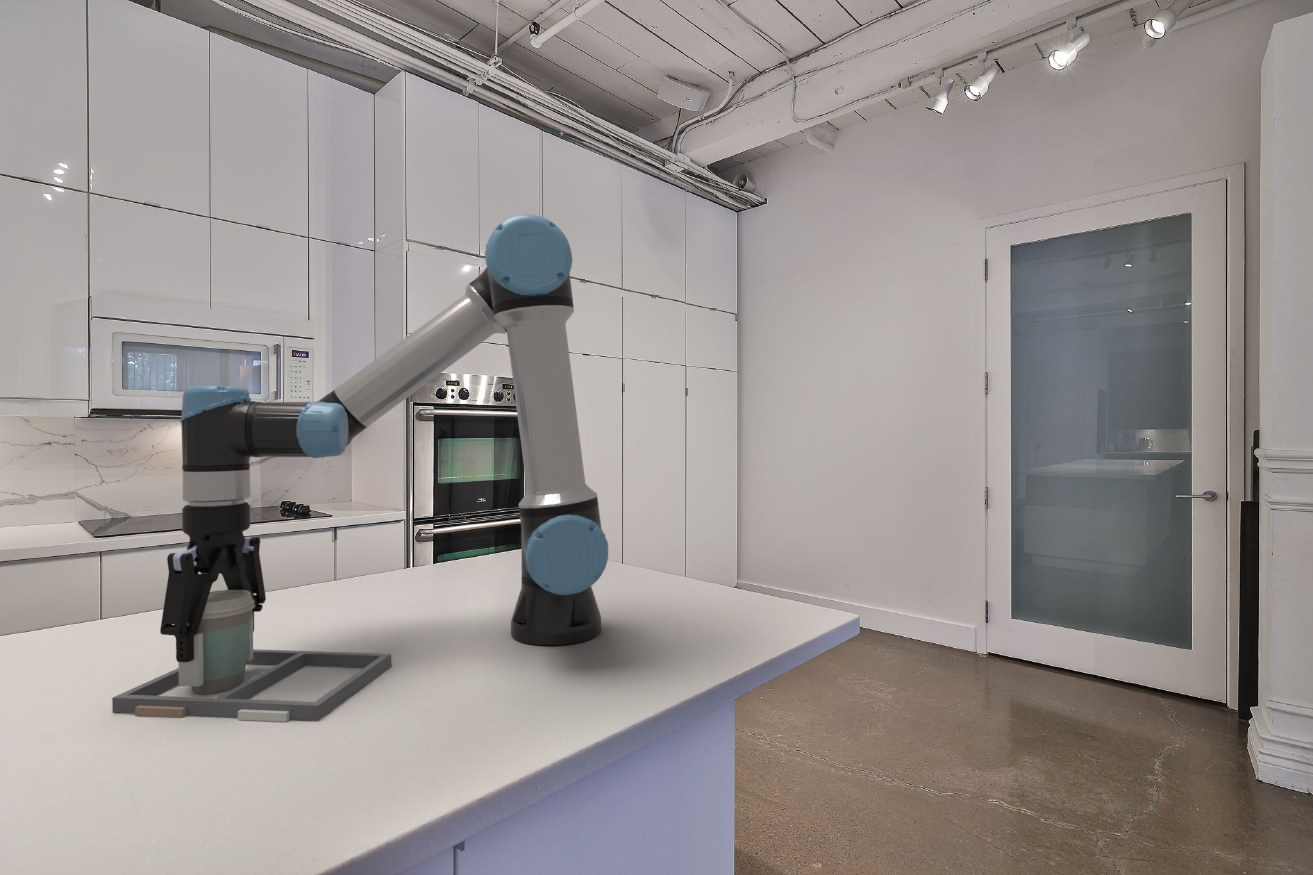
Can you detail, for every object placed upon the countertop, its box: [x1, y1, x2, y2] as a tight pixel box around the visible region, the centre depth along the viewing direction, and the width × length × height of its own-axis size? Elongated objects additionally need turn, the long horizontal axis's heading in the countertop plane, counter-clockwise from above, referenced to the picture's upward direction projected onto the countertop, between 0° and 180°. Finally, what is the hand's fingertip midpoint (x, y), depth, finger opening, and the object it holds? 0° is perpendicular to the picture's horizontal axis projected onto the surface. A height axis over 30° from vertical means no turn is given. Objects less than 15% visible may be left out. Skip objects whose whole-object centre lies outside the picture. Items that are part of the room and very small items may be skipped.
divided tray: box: [111, 648, 392, 723], centre depth 88 cm, size 26×19×2 cm
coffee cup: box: [187, 589, 255, 695], centre depth 89 cm, size 9×9×12 cm
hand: (218, 671), depth 89 cm, fingers closed on coffee cup, 8 cm apart
